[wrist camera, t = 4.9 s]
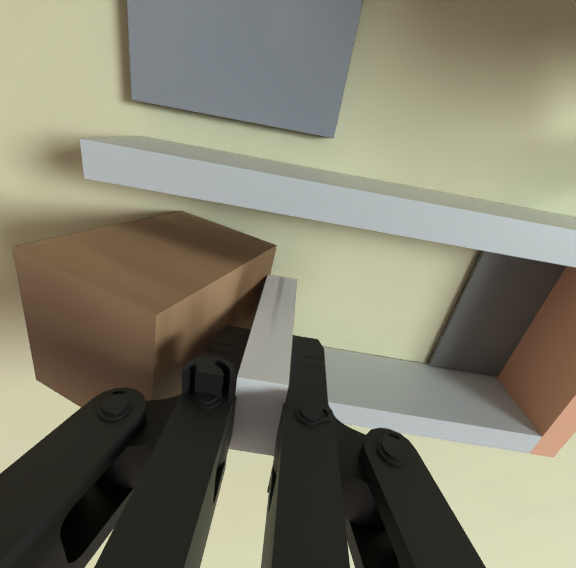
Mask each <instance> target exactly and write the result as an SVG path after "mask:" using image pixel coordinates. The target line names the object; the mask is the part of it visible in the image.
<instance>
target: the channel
mask: <svg viewBox="0 0 576 568" xmlns="http://www.w3.org/2000/svg"><path fill="white" fill-rule="evenodd" d="M80 147H81V155H82V164H83V172H84V178H85V179H90V180H96V181H101V182H107V183H112V184H118V185H123V186H129V187H134V188H140V189H145V190H151V191H157V192H162V193H168V194H173V195H179V196H184V197H190V198H195V199H201V200H206V201H212V202H217V203H223V204H228V205H234V206H239V207H245V208H250V209H256V210H261V211H267V212H272V213H278V214H283V215H289V216H294V217H300V218H305V219H311V220H317V221H322V222H328V223H333V224H339V225H344V226H350V227H355V228H361V229H366V230H372V231H377V232H383V233H388V234H394V235H399V236H405V237H410V238H416V239H421V240H427V241H432V242H438V243H443V244H449V245H454V246H460V247H466V248H471V249H477V250H482V251H481V253H480V255H479V257H478V259H477V261H476V263H475V266H474V268H473V270H472V272H471V274H470V276H469V278H468V280H467V282H466V284H465V287H464V289H463V291H462V293H461V295H460V297H459V299H458V301H457V303H456V305H455V308H454V310H453V312H452V314H451V316H450V318H449V320H448V322H447V324H446V327H445V329H444V331H443V333H442V335H441V337H440V339H439V341H438V343H437V345H436V348H435V350H434V352H433V354H432V356H431V358H430V360H429V362H428V363H429V364H423V363H417V362H411V361H405V360H399V359H393V358H387V357H382V356H376V355H370V354H364V353H358V352H352V351H346V350H340V349H334V348H328V347H323V348H324V353H325V367H326V368H325V370H326V380H327V394H328V403H329V407H330V408H331V409H332V411H333V414H334V416H335V417H336V418H337V419H338V420H339V421H340V422H341V423H343V424H348V425H355V426H361V427H367V428H373V429H376V428H387V429H391V430H393V431H396V432H398V433H404V434H411V435H417V436H423V437H429V438H436V439H442V440H448V441H454V442H460V443H467V444H473V445H479V446H485V447H492V448H498V449H504V450H510V451H517V452H523V453H529V454H535V455H541V456H548V457H554V456H555V455H556V454H557V452H558V451H559V450H560V449H561V448H562V447H563V445H564V444H565V443H566V442H567V441H568V440H569V438H570V437H571V436H572V435H573V434H574V433H575V431H576V217H572V216H567V215H561V214H556V213H550V212H545V211H540V210H534V209H529V208H524V207H518V206H513V205H508V204H502V203H497V202H492V201H486V200H481V199H475V198H470V197H465V196H459V195H454V194H449V193H443V192H438V191H433V190H427V189H422V188H417V187H411V186H406V185H400V184H395V183H390V182H384V181H379V180H374V179H368V178H363V177H358V176H352V175H347V174H341V173H336V172H331V171H325V170H320V169H315V168H309V167H304V166H299V165H293V164H288V163H283V162H277V161H272V160H266V159H261V158H256V157H250V156H245V155H240V154H234V153H229V152H224V151H218V150H213V149H208V148H202V147H197V146H191V145H186V144H181V143H175V142H170V141H165V140H159V139H154V138H149V137H143V136H127V137H103V138H80Z"/></svg>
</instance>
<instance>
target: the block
mask: <svg viewBox="0 0 576 568" xmlns="http://www.w3.org/2000/svg"><path fill="white" fill-rule="evenodd" d="M276 246H277V245H274V244H271V243H269V242H266V241H263V240H260V239H258V238H255V237H252V236H249V235H247V234H244V233H241V232H238V231H236V230H233V229H230V228H227V227H225V226H222V225H219V224H216V223H214V222H211V221H208V220H205V219H203V218H200V217H197V216H194V215H192V214H189V213H186V212H183V211H178V212H173V213H168V214H164V215H159V216H154V217H150V218H145V219H140V220H135V221H131V222H126V223H121V224H116V225H112V226H107V227H102V228H97V229H93V230H88V231H83V232H78V233H74V234H69V235H64V236H59V237H55V238H50V239H45V240H40V241H36V242H31V243H26V244H21V245H17V246H12V248H13V254H14V259H15V265H16V270H17V276H18V281H19V287H20V292H21V298H22V303H23V309H24V314H25V320H26V326H27V331H28V337H29V342H30V348H31V353H32V359H33V364H34V370H35V375H36V380H38V381H39V382H41V383H43V384H44V385H46V386H47V387H49V388H51V389H52V390H54V391H55V392H57V393H59V394H60V395H62V396H64V397H65V398H67V399H68V400H70V401H72V402H73V403H75V404H77V405H78V406H80V407H83V406H84V405H85V404H86V403H88V402H89V401H90V400H91V399H92V398H94V397H96V396H97V395H99V394H100V393H102V392H105V391H108V390H111V389H114V388H124V387H127V388H132V389H136V390H137V391H139V392H140V393H142V394H143V396H144V398H145V400H146V401H150V400H160V399H167V398H172V397H175V396H178V395H180V394H182V368H183V367H184V366H185V365H186V364H187V363H188V362H189V361H191V360H193V359H195V358H198V357H203V356H207V354H208V352H209V350H210V347H211V345H212V344H213V341H214V339H215V337H216V335H217V332H219V331H220V330H221V329H223V328H224V327H225V326H227V325H228V326H234V327H240V328H246V329H252V326H253V322H254V319H255V315H256V312H257V309H258V305H259V302H260V299H261V295H262V292H263V289H264V285H265V282H266V279H267V275H268V274H269V275H270V273H271V268H272V264H273V259H274V255H275V250H276Z"/></svg>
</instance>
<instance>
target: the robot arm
mask: <svg viewBox="0 0 576 568" xmlns="http://www.w3.org/2000/svg"><path fill="white" fill-rule="evenodd" d="M296 287H297V279H293V278H287V277H281V276H275V275H269V274H268V275H267V279H266V282H265V285H264V289H263V292H262V295H261V299H260V302H259V305H258V309H257V312H256V315H255V319H254V322H253V326H252V329H246V328H240V327H234V326H228V325H227V326H225V327H224V328H223V329H221V330H220V331H219V332H217V335H216V337H215V339H214V341H213V344H212V345H211V347H210V350H209V352H208V354H207V356H203V357H198V358H195V359H193V360H191V361H189V362H188V363H187V364H186V365H185V366H184V367H183V368H182V394H180V395H178V396H175V397H172V398H167V399H160V400H150V401H146V400H145V398H144V396H143V394H142V393H140V392H139V391H137V390H136V389H132V388H127V387H124V388H114V389H111V390H108V391H105V392H102V393H100V394H99V395H97V396H96V397H94V398H92V399H91V400H90V401H89V402H88V403H86V404H85V405H84V406H83V407H81V408H80V409H79V410H78V411H77V412H75V413H74V414H73V415H72V416H70V417H69V418H68V419H67V420H66V421H64V422H63V423H62V424H61V425H59V426H58V427H57V428H56V429H55V430H53V431H52V432H51V433H50V434H48V435H47V436H46V437H45V438H44V439H42V440H41V441H40V442H39V443H37V444H36V445H35V446H34V447H33V448H31V449H30V450H29V451H28V452H26V453H25V454H24V455H23V456H21V457H20V458H19V459H18V460H17V461H15V462H14V463H13V464H12V465H10V466H9V467H8V468H7V469H6V470H4V471H3V472H2V473H1V474H0V568H84V567H85V566H86V565H87V563H88V562H89V561H90V559H91V558H92V557H93V555H94V554H95V553H96V551H97V550H98V549H99V547H100V546H101V545H102V543H103V542H104V541H105V539H106V538H107V537H108V535H109V534H110V533H111V531H112V530H113V531H112V533H111V535H110V537H109V539H108V541H107V543H106V545H105V547H104V549H103V551H102V553H101V555H100V557H99V559H98V561H97V563H96V565H95V567H94V568H200V565H201V561H202V557H203V553H204V549H205V545H206V541H207V537H208V533H209V530H210V526H211V522H212V518H213V514H214V510H215V506H216V502H217V498H218V495H219V491H220V487H221V483H222V479H223V475H224V471H225V466H226V457H227V453H228V449H234V450H240V451H246V452H252V453H259V454H265V455H272V456H274V461H273V467H272V472H271V476H270V481H269V486H268V491H267V492H269V496H268V506H267V515H266V525H265V534H264V544H263V553H262V563H261V568H350V564H349V554H348V545H349V548H350V552H351V555H352V559H353V562H354V565H355V568H486V567H485V565H484V564H483V562H482V560H481V559H480V557H479V555H478V553H477V552H476V550H475V548H474V547H473V545H472V543H471V542H470V540H469V538H468V537H467V535H466V533H465V532H464V530H463V528H462V526H461V525H460V523H459V521H458V520H457V518H456V516H455V515H454V513H453V511H452V510H451V508H450V506H449V504H448V503H447V501H446V499H445V498H444V496H443V494H442V493H441V491H440V489H439V488H438V486H437V484H436V483H435V481H434V479H433V477H432V476H431V474H430V472H429V471H428V469H427V467H426V466H425V464H424V462H423V461H422V459H421V457H420V455H419V454H418V452H417V450H416V449H415V448H414V446H413V445H412V444H411V443H410V441H409V440H408V439H406V438H405V437H404V436H402V435H401V434H400V433H398V432H396V431H393V430H391V429H387V428H376V429H372V430H370V431H369V432H368V433H367V434H366V435H365V434H362V433H360V432H358V431H356V430H354V429H351V428H349V427H348V426H346V425H344V424H343V423H341V422H340V421H339V420H338V419H337V418H336V417H335V416H334V414H333V411H332V409H331V408H330V407H329V403H328V394H327V380H326V370H325V368H326V367H325V353H324V348H323V346H322V345H321V343H320V342H319V340H318V339H312V338H306V337H300V336H294V335H293V325H294V312H295V300H296ZM347 542H348V544H347Z"/></svg>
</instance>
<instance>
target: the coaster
mask: <svg viewBox="0 0 576 568" xmlns="http://www.w3.org/2000/svg"><path fill="white" fill-rule="evenodd" d="M362 3H363V0H127V12H128V33H129V55H130V76H131V98H132V100H136V101H141V102H146V103H151V104H157V105H162V106H167V107H172V108H178V109H183V110H188V111H193V112H199V113H204V114H209V115H214V116H220V117H225V118H230V119H235V120H241V121H246V122H251V123H257V124H262V125H267V126H272V127H278V128H283V129H288V130H293V131H299V132H304V133H309V134H314V135H320V136H325V137H330V138H334V134H335V129H336V125H337V120H338V115H339V111H340V106H341V101H342V97H343V92H344V87H345V83H346V78H347V73H348V69H349V64H350V59H351V54H352V50H353V45H354V40H355V36H356V31H357V26H358V22H359V17H360V12H361V8H362Z"/></svg>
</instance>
